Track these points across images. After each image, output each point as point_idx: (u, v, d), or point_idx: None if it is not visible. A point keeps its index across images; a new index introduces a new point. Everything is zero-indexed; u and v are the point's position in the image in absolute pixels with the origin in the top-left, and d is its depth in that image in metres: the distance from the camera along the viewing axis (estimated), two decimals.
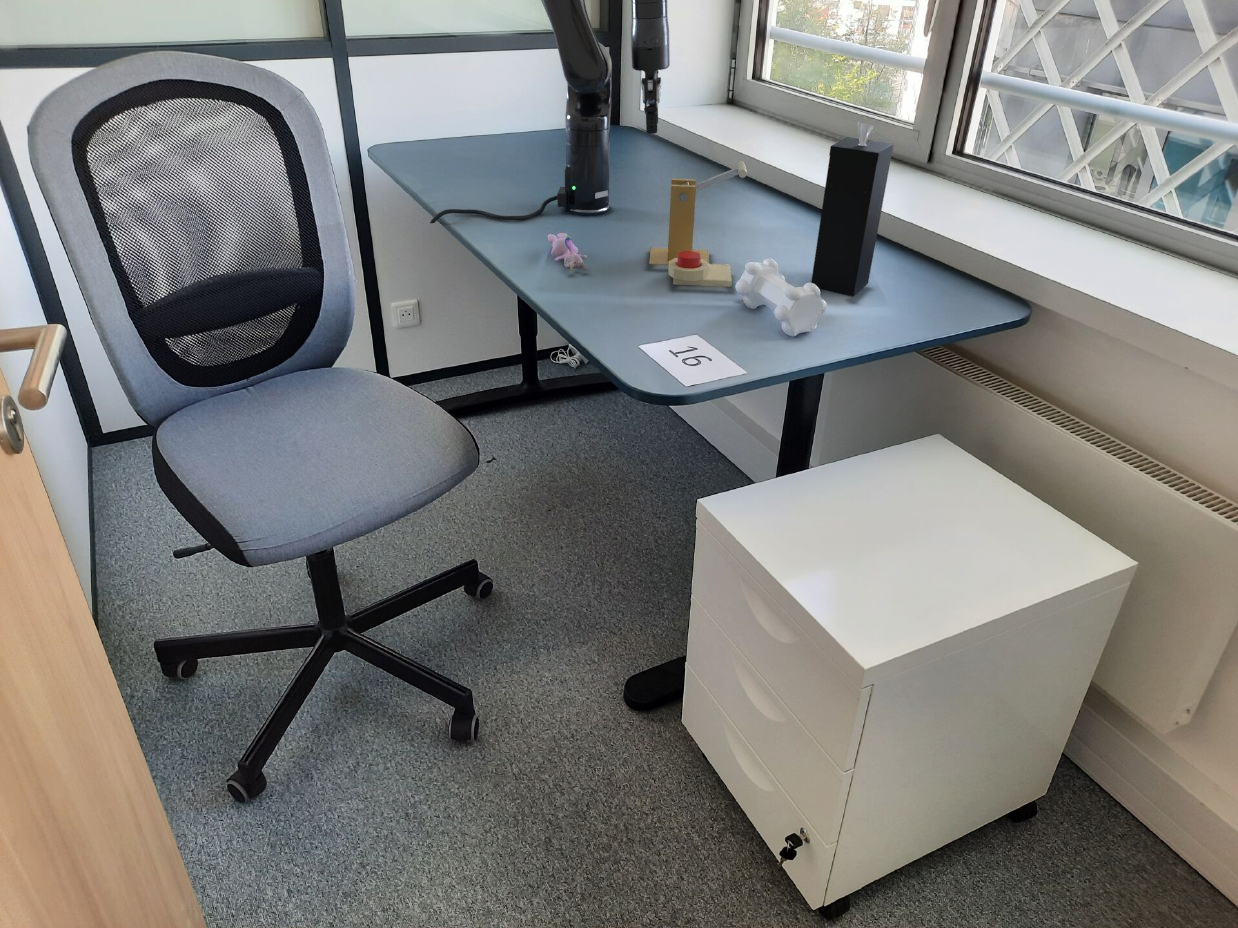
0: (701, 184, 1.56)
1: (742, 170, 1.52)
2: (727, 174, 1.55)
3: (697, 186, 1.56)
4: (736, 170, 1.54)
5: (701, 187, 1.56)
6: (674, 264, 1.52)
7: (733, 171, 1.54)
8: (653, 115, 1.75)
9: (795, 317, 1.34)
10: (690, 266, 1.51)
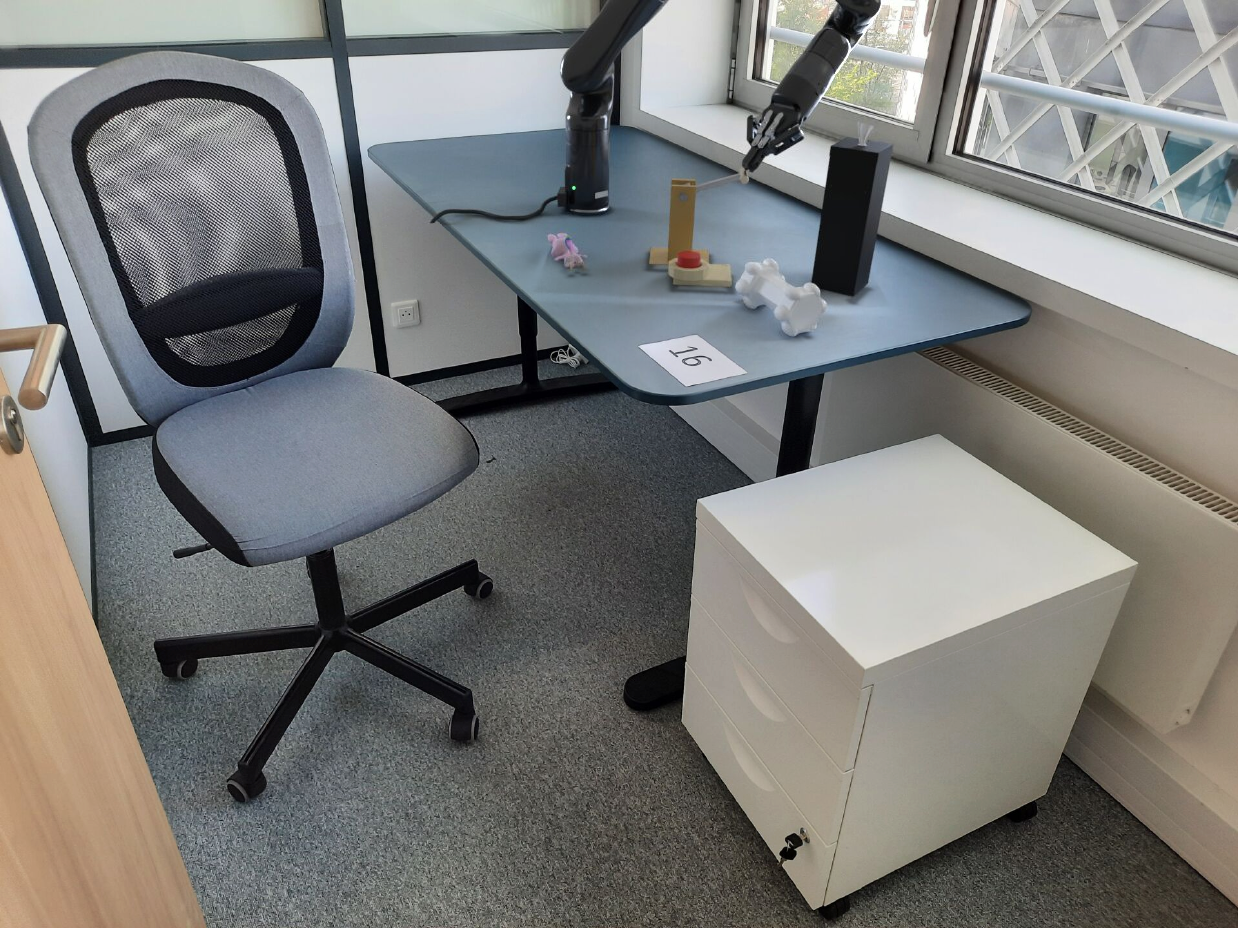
0: (702, 186, 1.56)
1: (744, 177, 1.52)
2: (729, 179, 1.55)
3: (698, 188, 1.56)
4: (738, 176, 1.55)
5: (701, 189, 1.56)
6: (674, 264, 1.52)
7: (735, 177, 1.55)
8: (765, 155, 1.54)
9: (795, 317, 1.34)
10: (690, 266, 1.51)
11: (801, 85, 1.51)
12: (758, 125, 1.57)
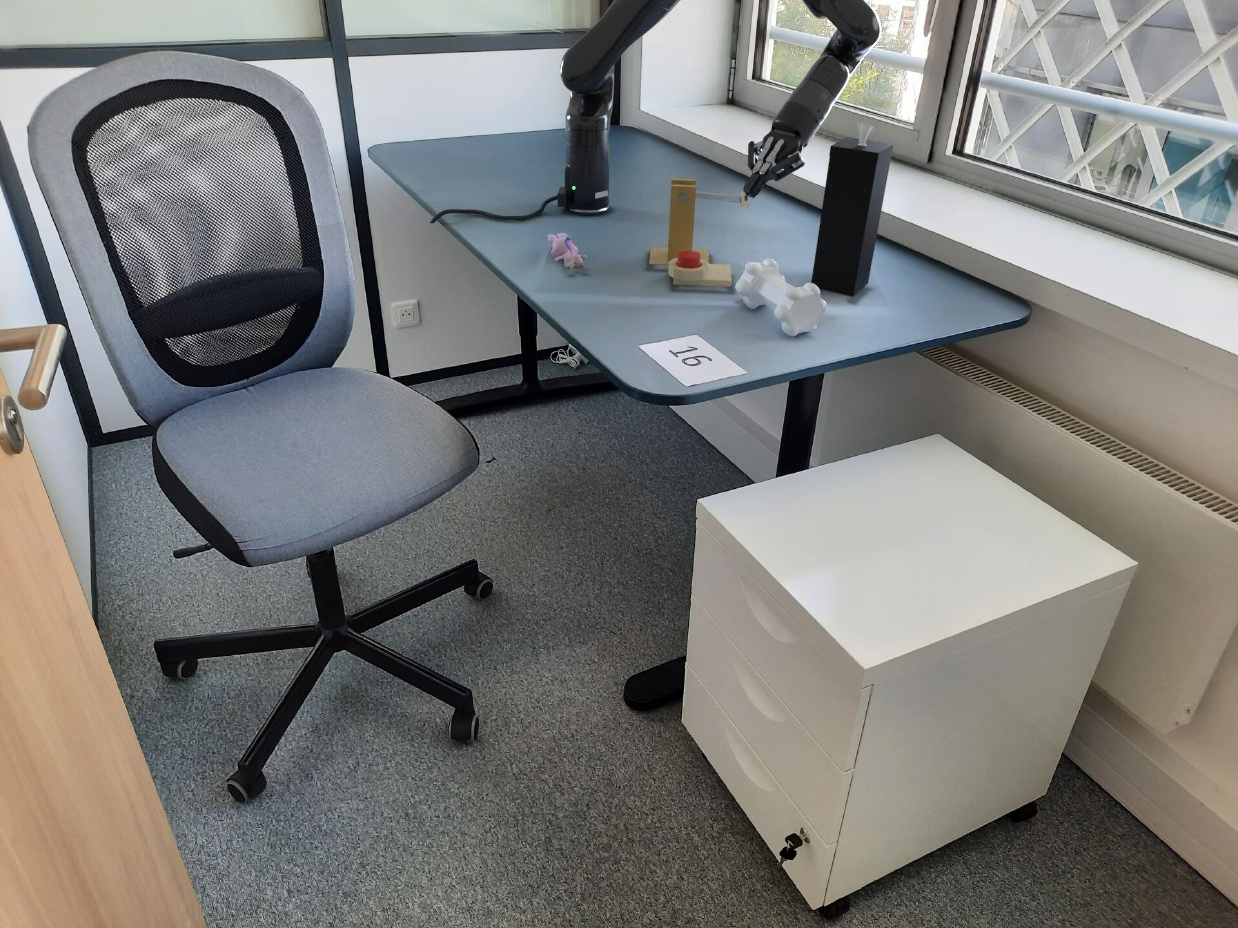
0: (703, 194, 1.57)
1: (746, 202, 1.55)
2: (730, 198, 1.57)
3: (698, 194, 1.57)
4: (739, 198, 1.57)
5: (701, 196, 1.57)
6: (674, 264, 1.52)
7: (736, 198, 1.57)
8: (766, 181, 1.56)
9: (795, 317, 1.34)
10: (690, 266, 1.51)
11: (801, 112, 1.53)
12: (759, 151, 1.59)
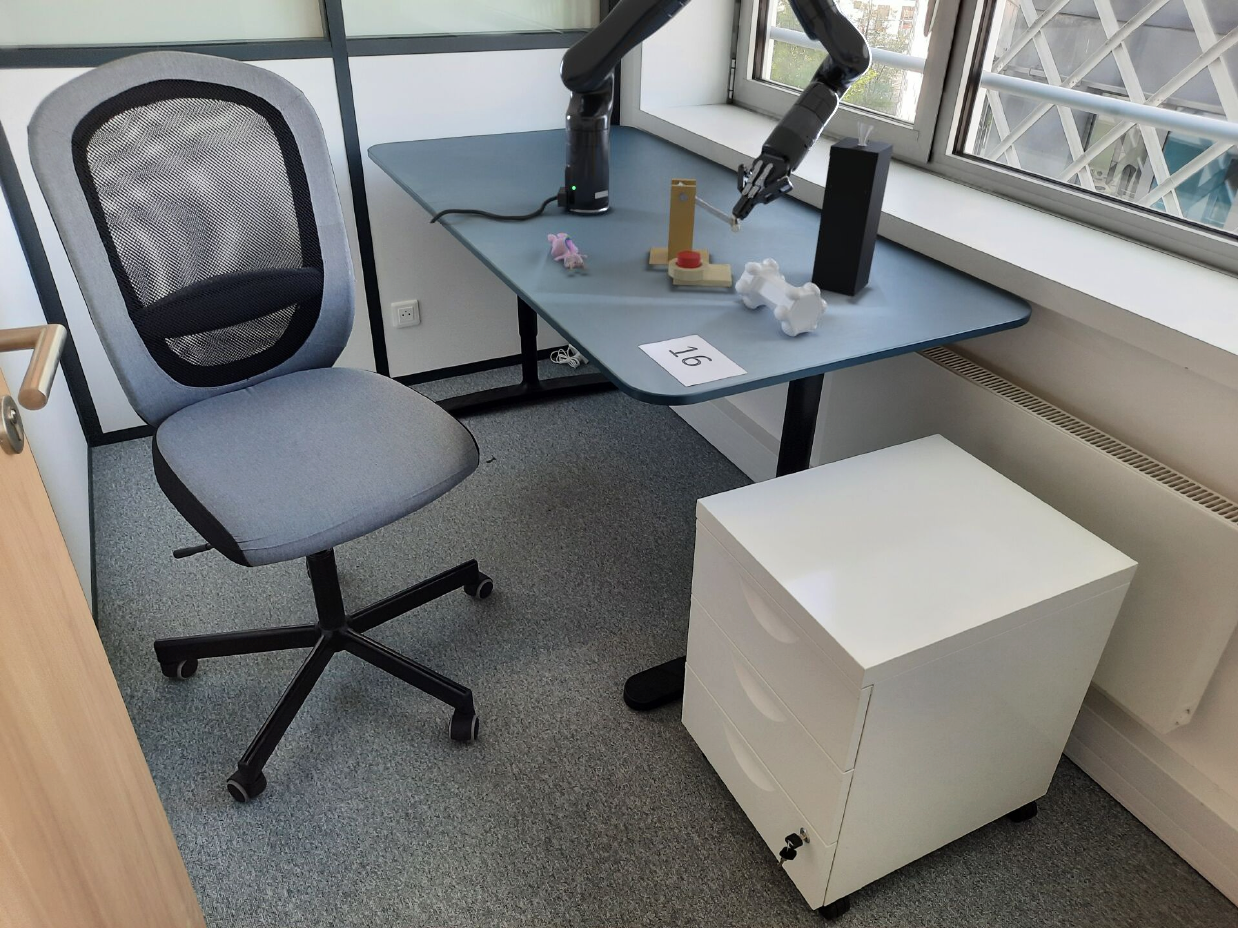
0: (701, 202, 1.58)
1: (737, 226, 1.57)
2: (723, 216, 1.59)
3: (697, 200, 1.57)
4: (731, 220, 1.59)
5: (699, 203, 1.58)
6: (674, 264, 1.52)
7: (729, 218, 1.59)
8: (755, 204, 1.58)
9: (795, 317, 1.34)
10: (690, 266, 1.51)
11: (790, 137, 1.55)
12: (749, 174, 1.61)
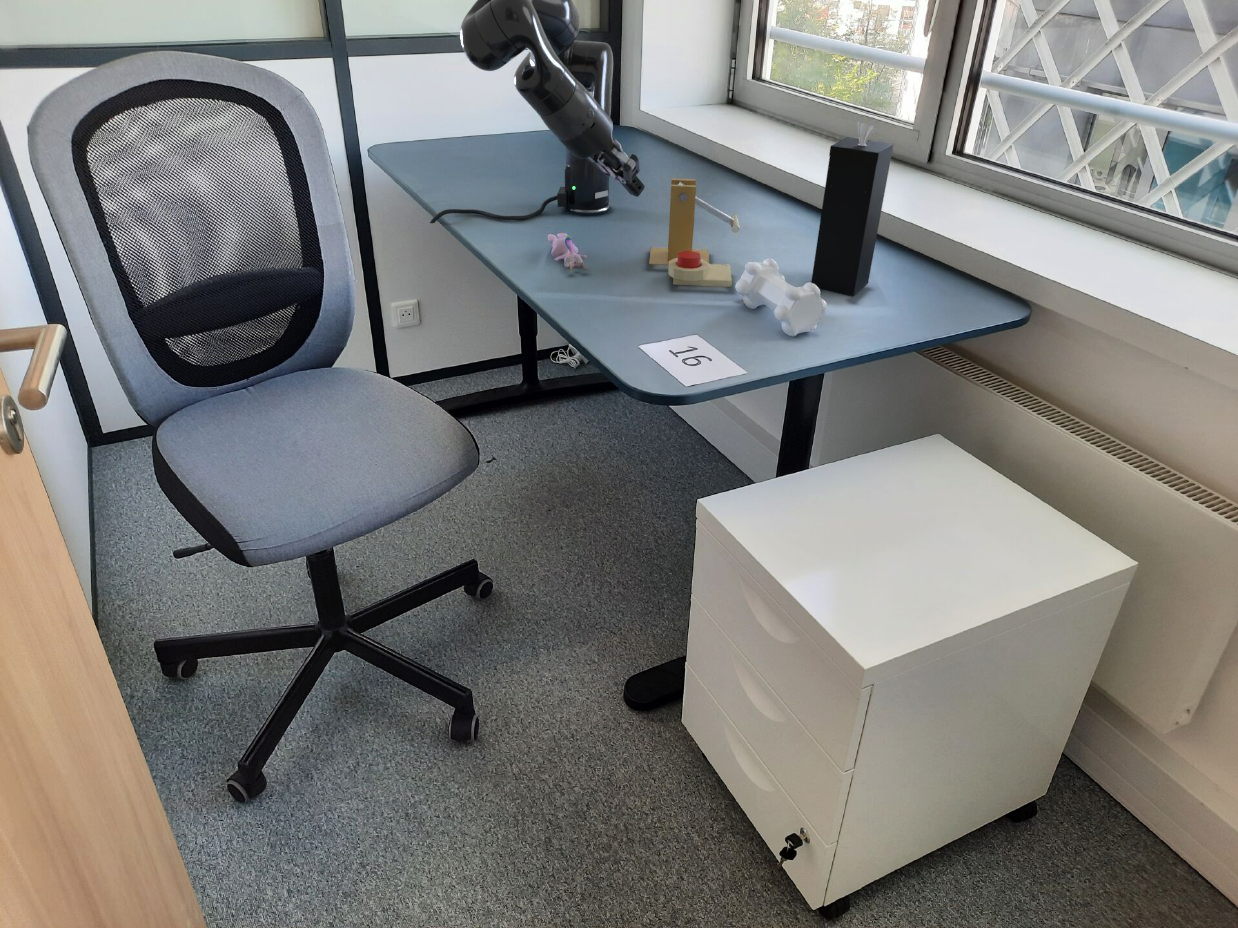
0: (701, 202, 1.58)
1: (737, 226, 1.57)
2: (723, 216, 1.59)
3: (697, 200, 1.57)
4: (731, 220, 1.59)
5: (699, 203, 1.58)
6: (674, 264, 1.52)
7: (729, 219, 1.59)
8: None
9: (795, 317, 1.34)
10: (690, 266, 1.51)
11: (578, 144, 1.25)
12: None
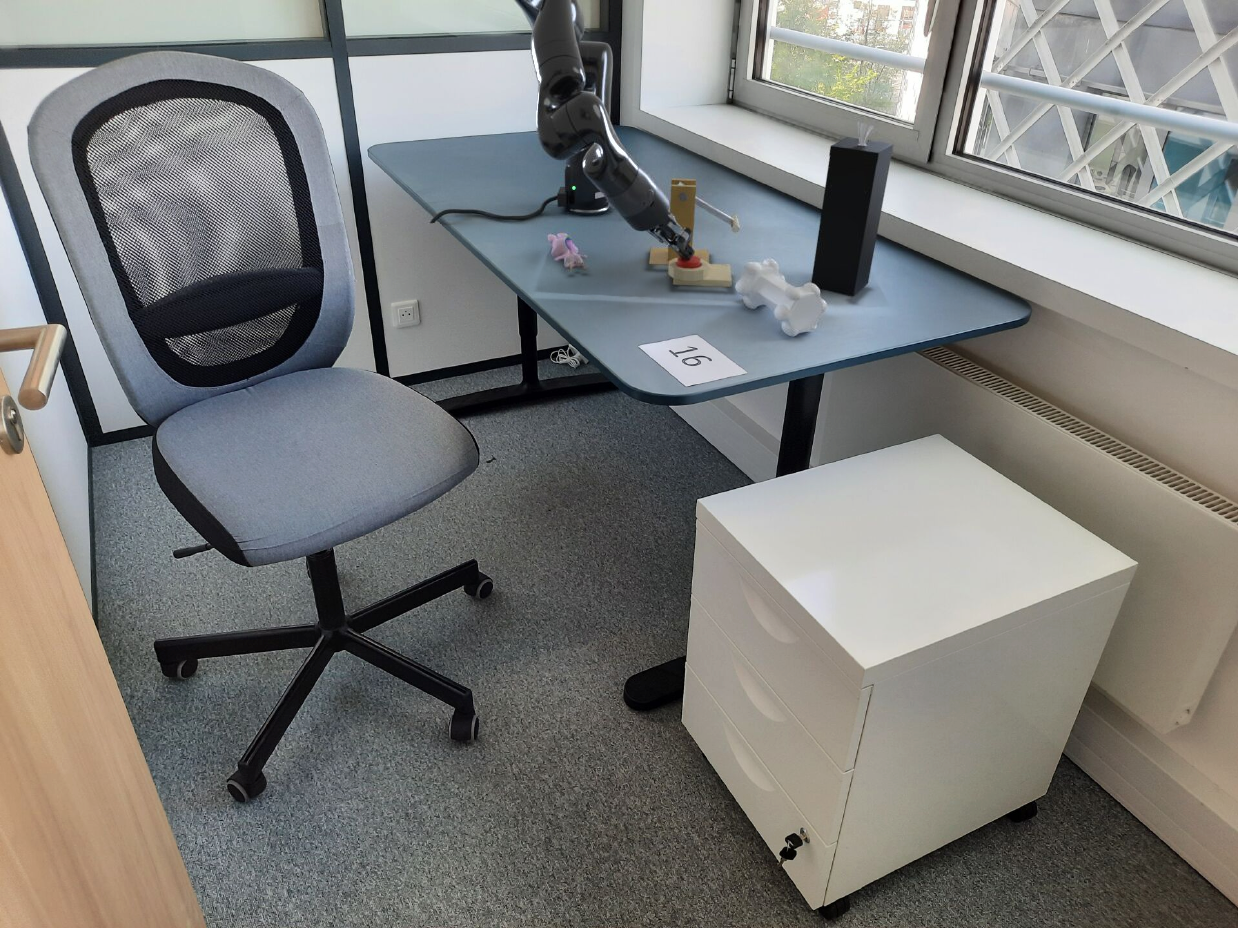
0: (701, 202, 1.58)
1: (737, 226, 1.57)
2: (723, 216, 1.59)
3: (697, 200, 1.57)
4: (731, 220, 1.59)
5: (699, 203, 1.58)
6: (674, 264, 1.52)
7: (729, 219, 1.59)
8: None
9: (795, 317, 1.34)
10: None
11: (638, 219, 1.38)
12: None
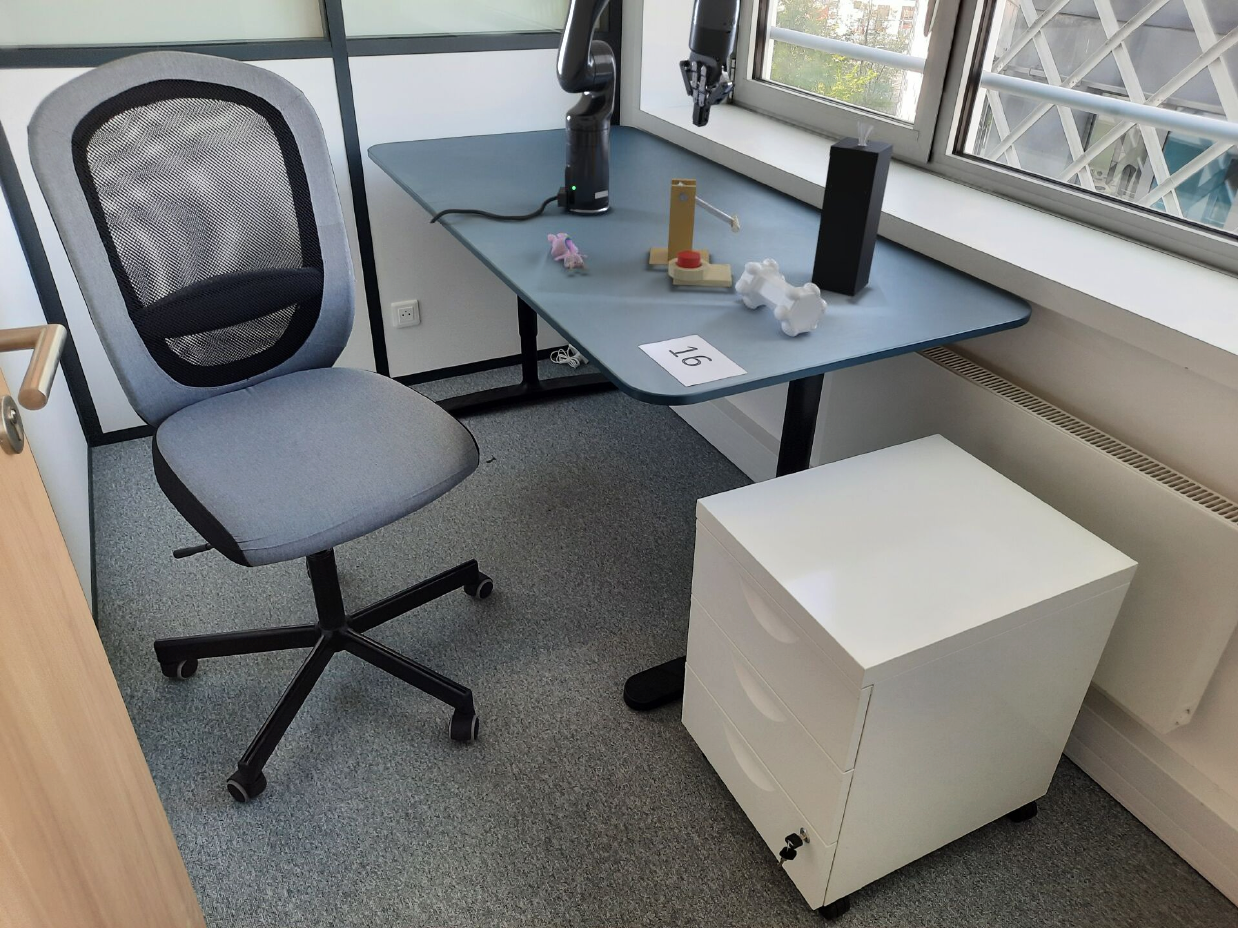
0: (701, 202, 1.58)
1: (737, 226, 1.57)
2: (723, 216, 1.59)
3: (697, 200, 1.57)
4: (731, 220, 1.59)
5: (699, 203, 1.58)
6: (674, 264, 1.52)
7: (729, 219, 1.59)
8: (709, 107, 1.53)
9: (795, 317, 1.34)
10: (690, 266, 1.51)
11: (708, 36, 1.43)
12: (692, 69, 1.53)
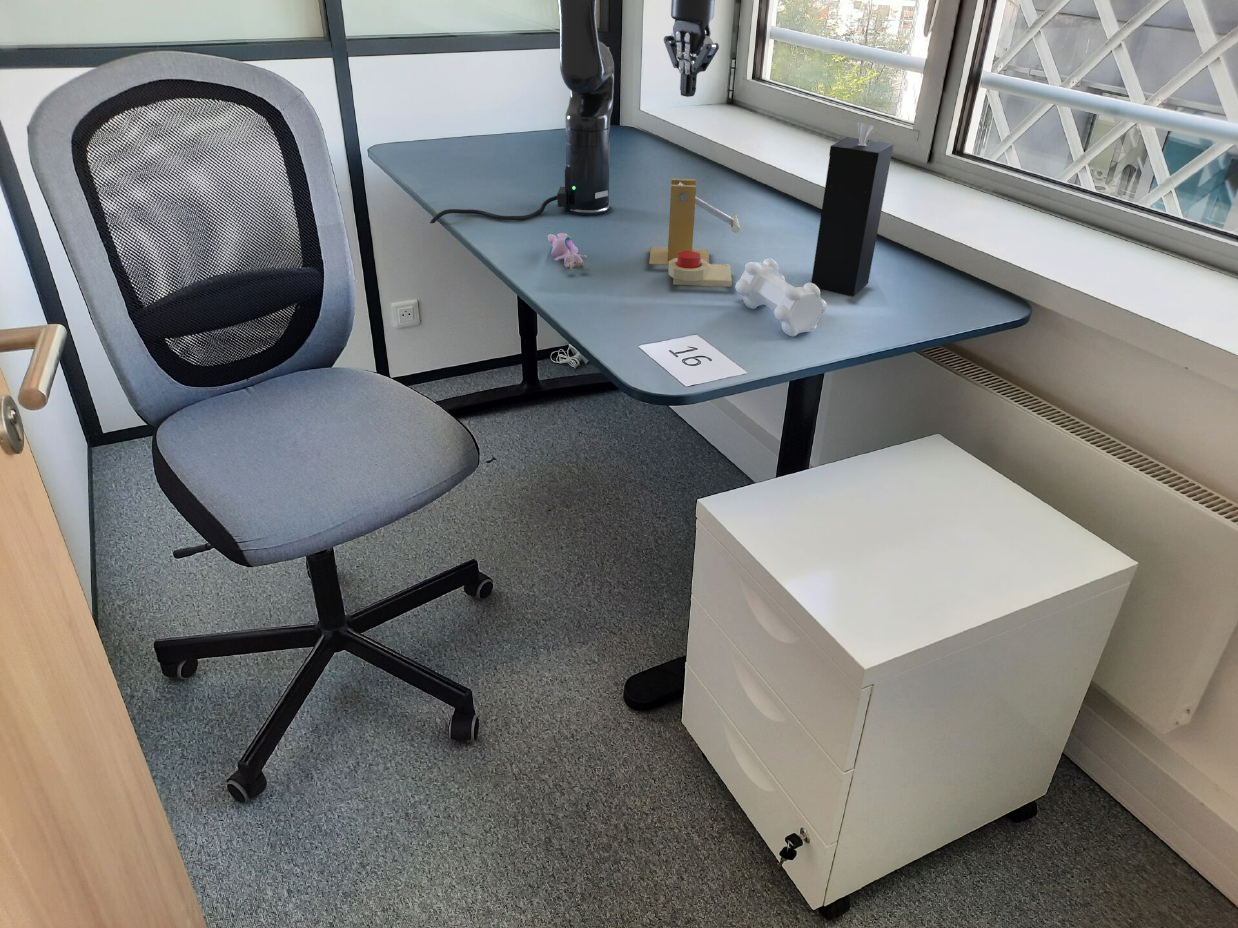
0: (701, 202, 1.58)
1: (737, 226, 1.57)
2: (723, 216, 1.59)
3: (697, 200, 1.57)
4: (731, 220, 1.59)
5: (699, 203, 1.58)
6: (674, 264, 1.52)
7: (729, 219, 1.59)
8: (695, 75, 1.58)
9: (795, 317, 1.34)
10: (690, 266, 1.51)
11: (689, 0, 1.49)
12: (676, 43, 1.59)
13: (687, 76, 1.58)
